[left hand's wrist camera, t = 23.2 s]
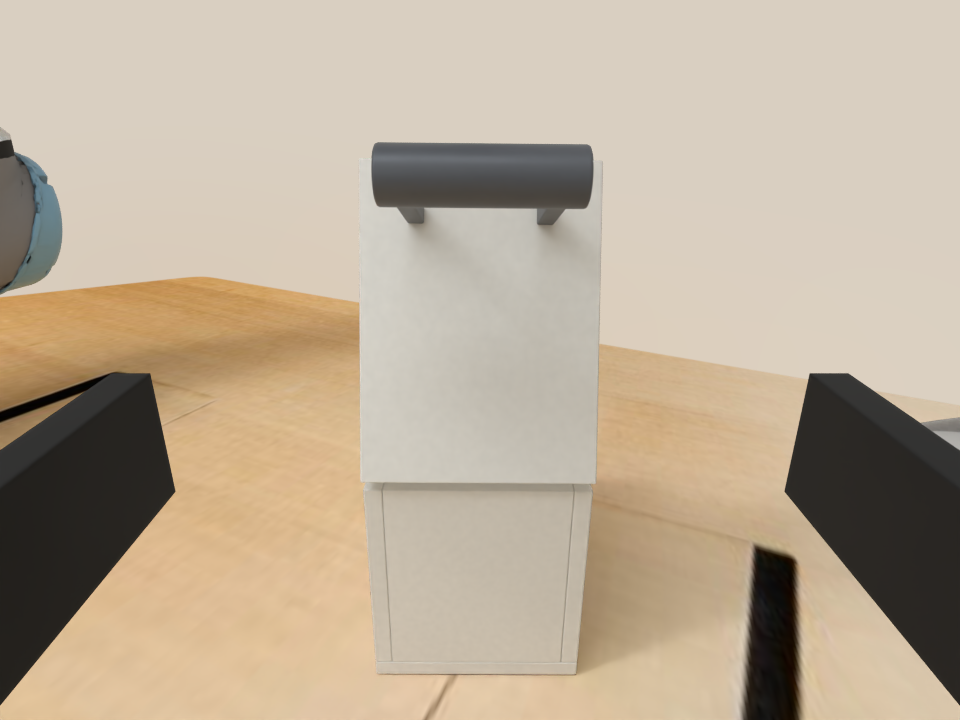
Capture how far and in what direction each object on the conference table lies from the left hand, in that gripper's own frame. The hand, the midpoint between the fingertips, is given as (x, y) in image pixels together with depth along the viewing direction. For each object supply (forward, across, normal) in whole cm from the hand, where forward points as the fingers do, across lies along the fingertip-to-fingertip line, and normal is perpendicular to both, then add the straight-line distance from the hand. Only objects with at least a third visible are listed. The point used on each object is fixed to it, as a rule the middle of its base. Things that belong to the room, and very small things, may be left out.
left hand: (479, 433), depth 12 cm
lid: (+14, 0, -2) cm, 14 cm away
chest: (+18, 0, -20) cm, 27 cm away
